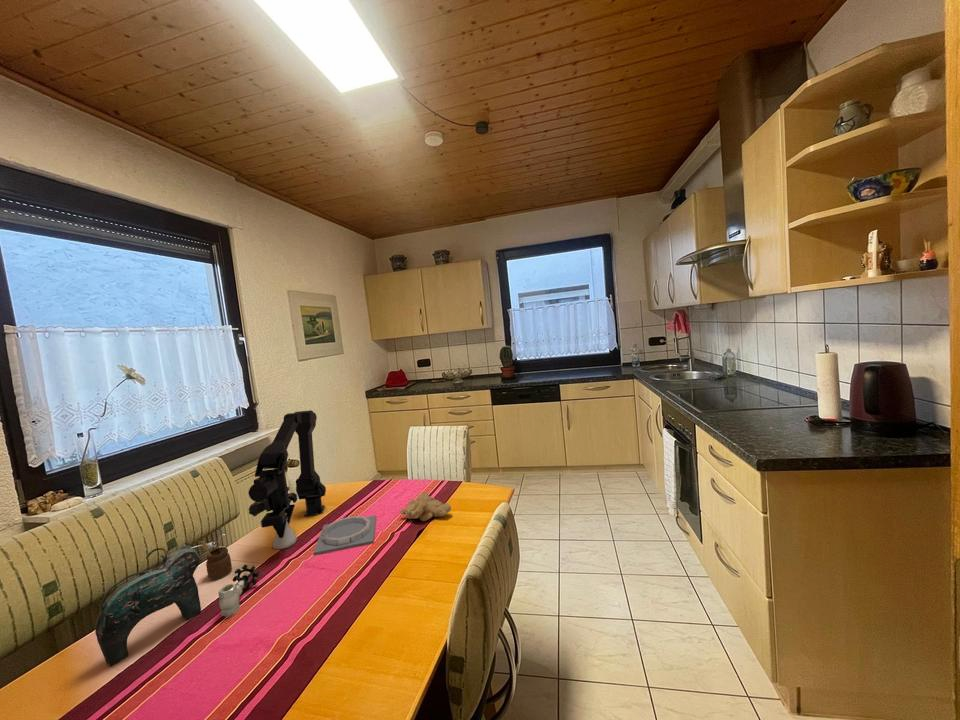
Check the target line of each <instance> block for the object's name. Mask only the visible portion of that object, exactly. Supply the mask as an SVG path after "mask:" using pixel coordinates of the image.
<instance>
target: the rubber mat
mask: <svg viewBox="0 0 960 720" xmlns="http://www.w3.org/2000/svg"><path fill="white" fill-rule="evenodd" d="M365 517H366V518H368V519H369V520H370V522H371V528H370V531H369V532H368V533H367V534H366V535H365V536H364V537H363V538H361V539H359V540H356V541H354V542H352V543H348V544H343V545H339V546H338V545H337V546H336V545H327V544H326V543H325V542H324V541H322V532H323V530H324V528H326V527H327V526H328V525H330V524H331V523H325V524H324V525H323V526H322V529H321V532H320V534H319V536H318V540H317V542H316V545H315V547H314V549H313V552H312V554H313V556H316V555H322V554H326V553H331V552H336V551H341V550H346V549H351V548H357V547H362V546H366V545H370V544H374V542H375V532H376V525H377V524H376V523H377V515H369V516H365ZM365 526H366V525H365V524H363V523H355V522H354V523H349V524H344V525H342V526H339V527H337V528H335V529H333V530H332V531H331V532H330V533H328V536H329V537H332V538H342V537H347V536H351V535H353V534H355V533H357V532H359V531H361V530H362V529H363V528H364V527H365Z"/></svg>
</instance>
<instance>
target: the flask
mask: <svg viewBox="0 0 960 720" xmlns="http://www.w3.org/2000/svg"><path fill="white" fill-rule="evenodd" d="M286 515H287V513H286ZM297 540H298V537H297V535H296V534H295V532H294V531H293V529H292V528H291V526H290V523H289V524H288V522H287V524H286V528H285V533H284V537H283V538H279V536H278V534H277V532H276V531H275V536H274V539H273V544H272V549H275V550H283V549H286V548H289V547H292V546H293V545H294V544H296V542H297Z"/></svg>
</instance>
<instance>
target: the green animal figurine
mask: <svg viewBox="0 0 960 720" xmlns="http://www.w3.org/2000/svg"><path fill="white" fill-rule="evenodd" d="M159 550H161V551H163V552H164V553H165V554H160V557H161V558H162V559H163V560H162V563H161V564H160V565H159V566H157V567H154V568H150V569H148V570H144V571H140V572H136V573H131V574H129V575H128V576H126V577H124V578H122V579H120V580H119V581H117V582H115V583H114V584H113V585H112V586H111V587H109V588H108V590H106V592H105V593H104V595H103V596H102V600H101V602H100V608H99V609H100V610H99V613H98V616H97V619H96V622H95V628H94V629H95V631H94V632H95V636H96V640H97V643H98V645H99V648H100V651H101V653H102V656H103V657H104V661H105V663H106V664H107V665H108V666H109V667H113V666H114V665H117V664H119V663H120V662H122V661H123V660H125V659H126V658H127V657H128V656H129V650H128V638H129V636H130V634H131V632H132V631H133V630H134V628H135V626H137V625H138V623H140V621H142V620H143V619H144V618H146V617H148V616H150V615H152V614H154V613H156V612H158V611H160V610H162V609H165V608H167V607H170V606H172V605H173V604H175V605H176V607H177V608H178V610H179V611H180V614H181V618H183V619H184V620H186V621H189V620H190V619H192V618H193V617H194V616H196V615H198V614H200V613H202V607H201V599H200V595H199V588H198V585H197V582H196V579H195V577H194V574H195V572H196V570H197V568H198V567H199V564H200V557H199V554H198V552H197V551H196V550H195V549H194V548H192V547H191V545H190V544H189V542H188V541H184V542H183V545H182V546H181V548H178V549H175V550H174V551H172V552H171V553H170V554H167V551H166V550H165V548H162V547H158V548H156V547H155V548H154V549H152V550H151V551H149V552H148V554H147V555H146V557H145V559H146V560H148V558H149V557H150V556H151V554H153V553H154V552H156V551H159ZM134 576H135V577H134ZM131 577H133V578H131ZM129 578H131V579H130V580H128V581H127V582H125V583H123V584H122V585H120V586H118V587H117V585H119V584H121V583H122V582H124V581H125V580H127V579H129ZM115 587H117V588H115ZM114 588H115V590H114V591H113V592H112V593H111V594H110V595H109V593H110V592H111V591H112V589H114ZM108 595H109V596H108ZM107 596H108V597H107ZM105 599H106V600H105Z"/></svg>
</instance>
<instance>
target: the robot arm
mask: <svg viewBox="0 0 960 720" xmlns="http://www.w3.org/2000/svg"><path fill="white" fill-rule="evenodd" d="M316 425H317V414H316V412H314V411H313V410H302V411H301V410H300V411H295V412H291V413H290V412H289V413H286V414H285V415H284V416H283V421H282V423H281V424H280V427H279V429H278V431H277V432H276V435H275V436H274V439H273V440H272V442H271V443H270V444H268V445H267V446H266V447H265V448H264V449H263V450H262V452H261V453H260V455H259V457H258V460H257V465H256V468H255V473H254V477H255V479H253V485H251V486H250V487H249V490H248V496H249V498H250V500H252V501H253V503H251V504H250V505H249V508H248V514H249V515H251V516H253V517H256V516H258V515H259V514H261V513H264V512H265V511H266V512H267V513H265V515H264V516H263V517H262V519H261V520H260V527H261V529H262V528H268V527H269V528H270V527H273V529H274V530H275V533H276V532H277V534H278V536H279V538H283V537H284V533H285V528H286V524H287V522H288V524H289V525H290V523H291V519H292V516H293V513H294V510H295V506H296V504H295V503H296V502H297V500H298V499H299V500H304V502H305V503H304V504H305V510H306V511H305V512H304V514H303V516H304V517H308V516H309V517H310V516H313V515H314V516H315V515H319V514H322V513H323V512H324V509H325V504H323V501H322V497H325V496H326V491H327V490H326V488H327V487H326V486H325V484H323V483H322V482H321V476H320V475H319V474H318V472H317V471H316V470H315V457H314V445H313V444H314V442H313V432H314V431H315V428H316ZM295 433H296V435H298V436H297V437H298V453H299V463H300V464H299V466H300V474H299V476H298V478H296V480H295V491H296V493H295V492H290V493H289V491H290V486H288V484H287V477H286V476H287V475H286V471H287V470H288V467H287V462H288V458H289V452H288V448H289V445H290V443H291V440H292V438H293V436H294V435H295ZM291 502H292V503H293V504H291ZM286 513H287V515H286Z"/></svg>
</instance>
